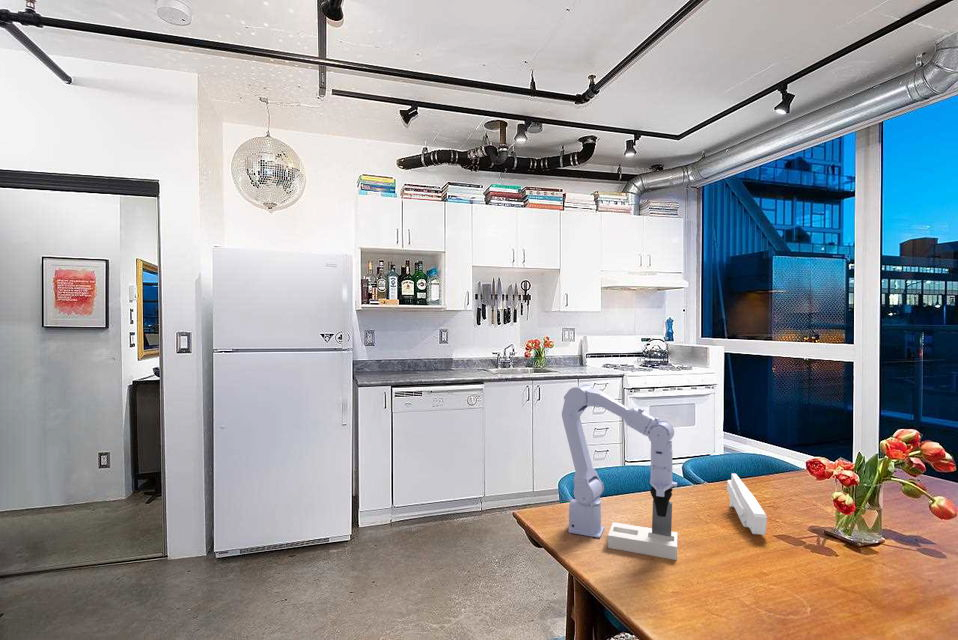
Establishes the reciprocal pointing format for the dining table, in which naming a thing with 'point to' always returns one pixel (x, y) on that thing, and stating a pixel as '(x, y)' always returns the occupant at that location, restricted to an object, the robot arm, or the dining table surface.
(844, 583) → the dining table surface
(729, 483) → the shelf bracket
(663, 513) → the robot arm
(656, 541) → the white board with holes
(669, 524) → the gray rectangular block
